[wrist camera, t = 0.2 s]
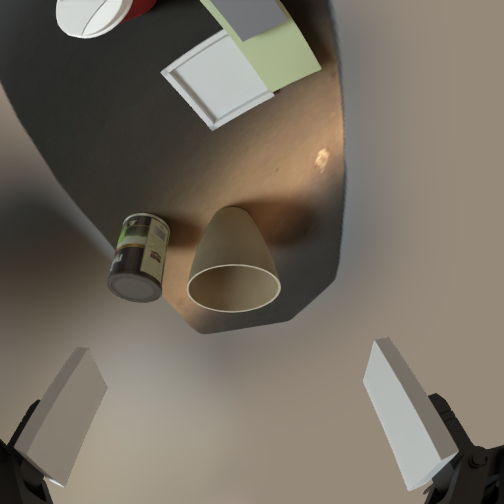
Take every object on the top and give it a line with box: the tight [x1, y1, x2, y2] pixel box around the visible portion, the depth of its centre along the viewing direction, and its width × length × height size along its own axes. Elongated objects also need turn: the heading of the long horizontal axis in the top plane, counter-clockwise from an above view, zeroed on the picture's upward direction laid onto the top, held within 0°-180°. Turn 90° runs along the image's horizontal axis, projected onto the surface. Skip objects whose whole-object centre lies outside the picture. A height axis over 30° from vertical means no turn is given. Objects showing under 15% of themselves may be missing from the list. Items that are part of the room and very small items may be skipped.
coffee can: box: [107, 213, 170, 303], centre depth 49 cm, size 10×10×14 cm
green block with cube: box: [160, 0, 321, 131], centre depth 24 cm, size 20×17×9 cm
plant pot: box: [187, 207, 281, 312], centre depth 48 cm, size 15×15×16 cm
